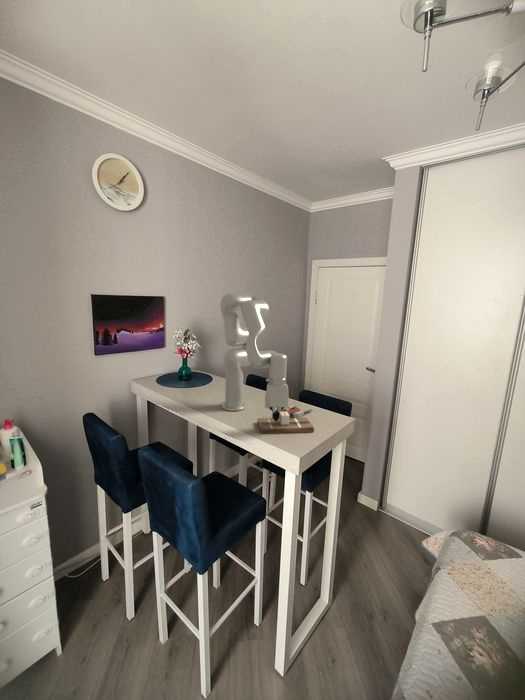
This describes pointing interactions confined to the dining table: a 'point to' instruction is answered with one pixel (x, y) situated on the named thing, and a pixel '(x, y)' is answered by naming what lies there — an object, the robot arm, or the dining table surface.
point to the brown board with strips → (284, 426)
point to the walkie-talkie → (294, 411)
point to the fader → (284, 418)
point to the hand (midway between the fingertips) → (275, 419)
